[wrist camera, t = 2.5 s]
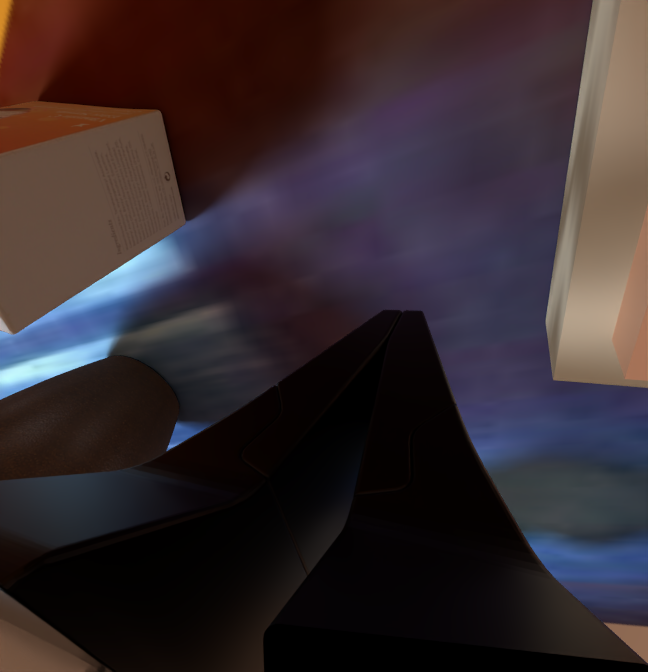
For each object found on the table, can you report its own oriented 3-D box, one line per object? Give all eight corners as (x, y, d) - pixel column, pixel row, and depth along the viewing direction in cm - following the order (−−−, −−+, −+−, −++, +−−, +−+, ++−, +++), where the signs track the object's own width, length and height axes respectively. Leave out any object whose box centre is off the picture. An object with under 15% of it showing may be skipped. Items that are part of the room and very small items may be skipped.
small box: (165, 108, 18) (-84, 175, 11) (189, 225, 22) (15, 340, 14) (32, 97, 20) (-258, 146, 13) (74, 206, 24) (-134, 297, 16)
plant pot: (40, 353, 36) (-187, 518, 24) (104, 279, 27) (-210, 484, 15) (164, 460, 40) (22, 643, 29) (254, 426, 31) (102, 675, 20)
